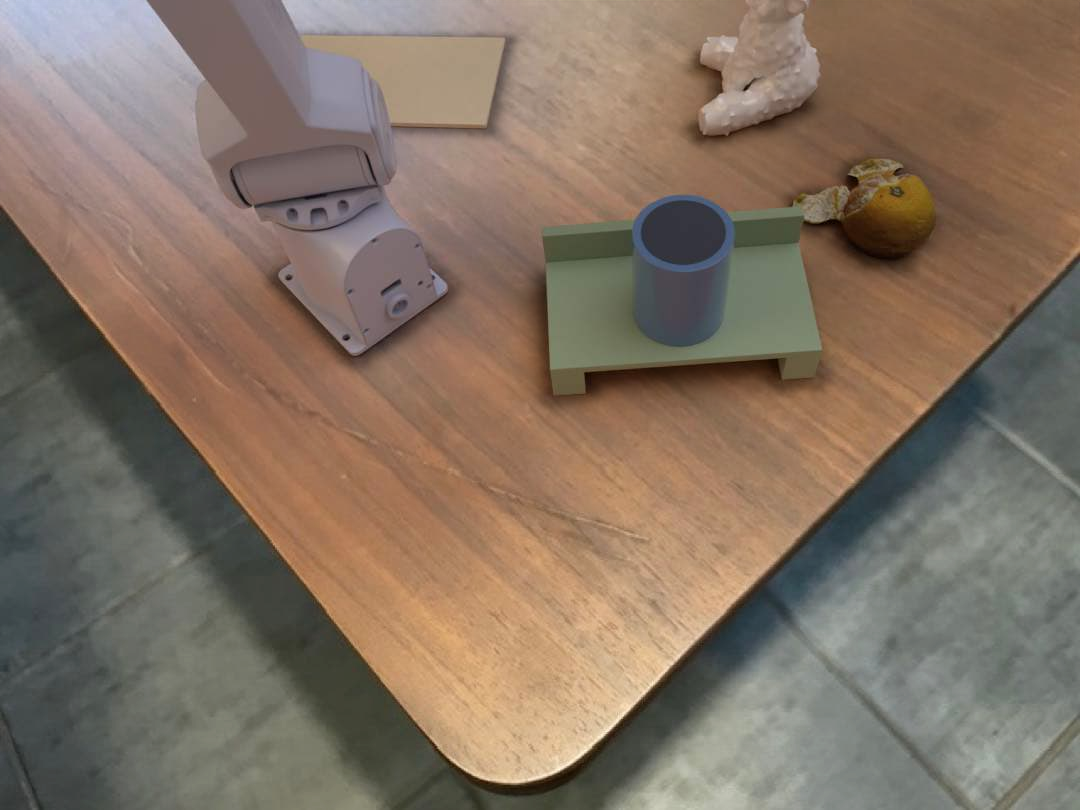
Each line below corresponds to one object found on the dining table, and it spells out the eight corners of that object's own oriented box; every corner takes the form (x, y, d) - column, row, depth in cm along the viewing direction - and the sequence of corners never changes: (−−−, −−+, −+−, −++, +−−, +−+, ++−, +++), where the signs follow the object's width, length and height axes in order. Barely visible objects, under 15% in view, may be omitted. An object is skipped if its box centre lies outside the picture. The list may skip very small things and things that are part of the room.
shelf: (814, 377, 59) (830, 324, 54) (553, 396, 60) (546, 345, 55) (790, 263, 63) (802, 205, 59) (548, 282, 64) (541, 226, 60)
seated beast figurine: (698, 53, 75) (709, -95, 65) (812, 52, 74) (841, -99, 64) (697, 139, 70) (708, -6, 60) (819, 140, 69) (850, -8, 59)
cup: (744, 309, 58) (756, 231, 52) (678, 363, 57) (683, 288, 51) (678, 258, 61) (683, 178, 55) (613, 308, 59) (610, 231, 53)
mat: (505, 41, 78) (505, 37, 77) (486, 128, 73) (485, 124, 72) (293, 38, 80) (292, 34, 80) (260, 123, 75) (258, 119, 75)
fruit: (876, 155, 68) (887, 115, 65) (963, 227, 64) (980, 188, 61) (783, 207, 66) (790, 169, 63) (866, 285, 62) (878, 248, 59)
